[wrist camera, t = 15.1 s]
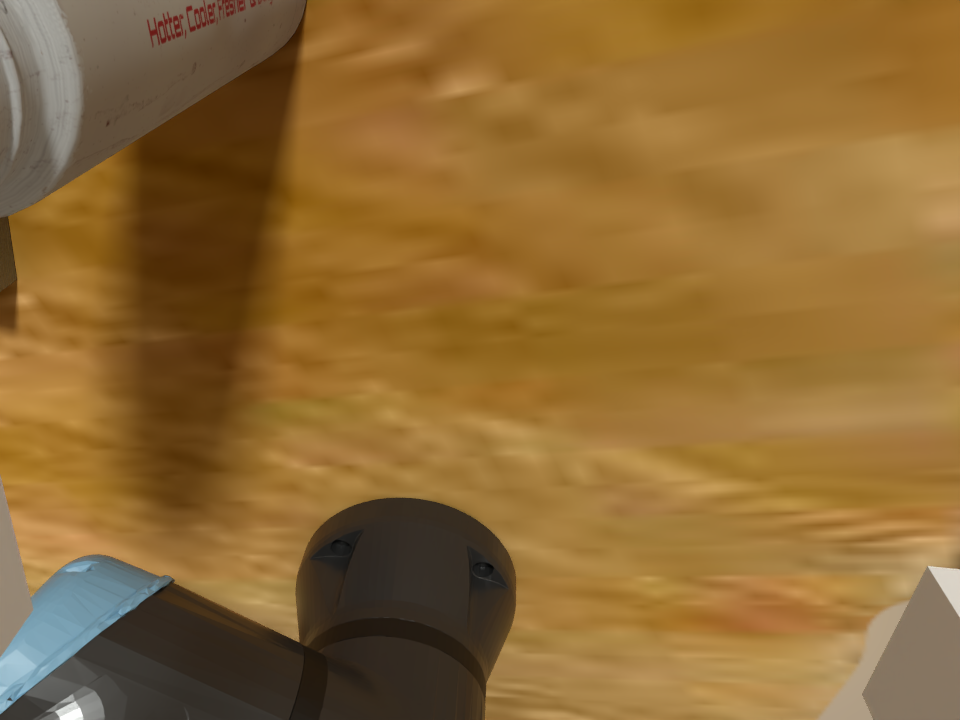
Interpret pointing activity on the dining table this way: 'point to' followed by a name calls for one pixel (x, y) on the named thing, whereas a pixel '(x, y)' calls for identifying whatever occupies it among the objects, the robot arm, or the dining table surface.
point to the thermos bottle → (114, 76)
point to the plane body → (6, 255)
